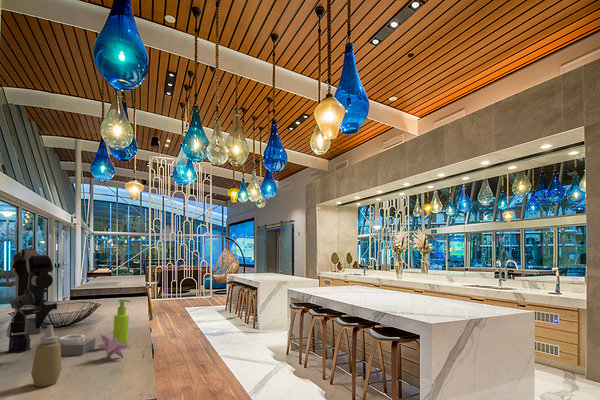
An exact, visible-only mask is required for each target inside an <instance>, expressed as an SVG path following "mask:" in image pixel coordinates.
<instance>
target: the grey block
mask: <svg viewBox="0 0 600 400" xmlns="http://www.w3.org/2000/svg"><path fill="white" fill-rule="evenodd" d="M41 331H42V325H41V326H40V328H39V329H36V318H35V314H31V315H26V322H25V334H24V335H30V336H34V335H39V334H41V333H42V332H41Z"/></svg>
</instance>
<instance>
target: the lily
mask: <svg viewBox="0 0 600 400" xmlns="http://www.w3.org/2000/svg"><path fill="white" fill-rule="evenodd" d="M99 337H100V339H101V340H102V343H99V344H98V345H95V348H99V349H102V350H105V351H106V357H105V359H104V362H105V363H106V361H107V358H108V356H109V357H111V356H113V355H116V356H119V357H121V358H124V355H123V352H122V351H123V350H125V349H128V348H130V346H129V344H127V345H126V344H123V343H118V340H117V338H116V337H114V338H113V337H112V338H110V337H108V336H107V335H104V334H102V333H100V334H99Z"/></svg>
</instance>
